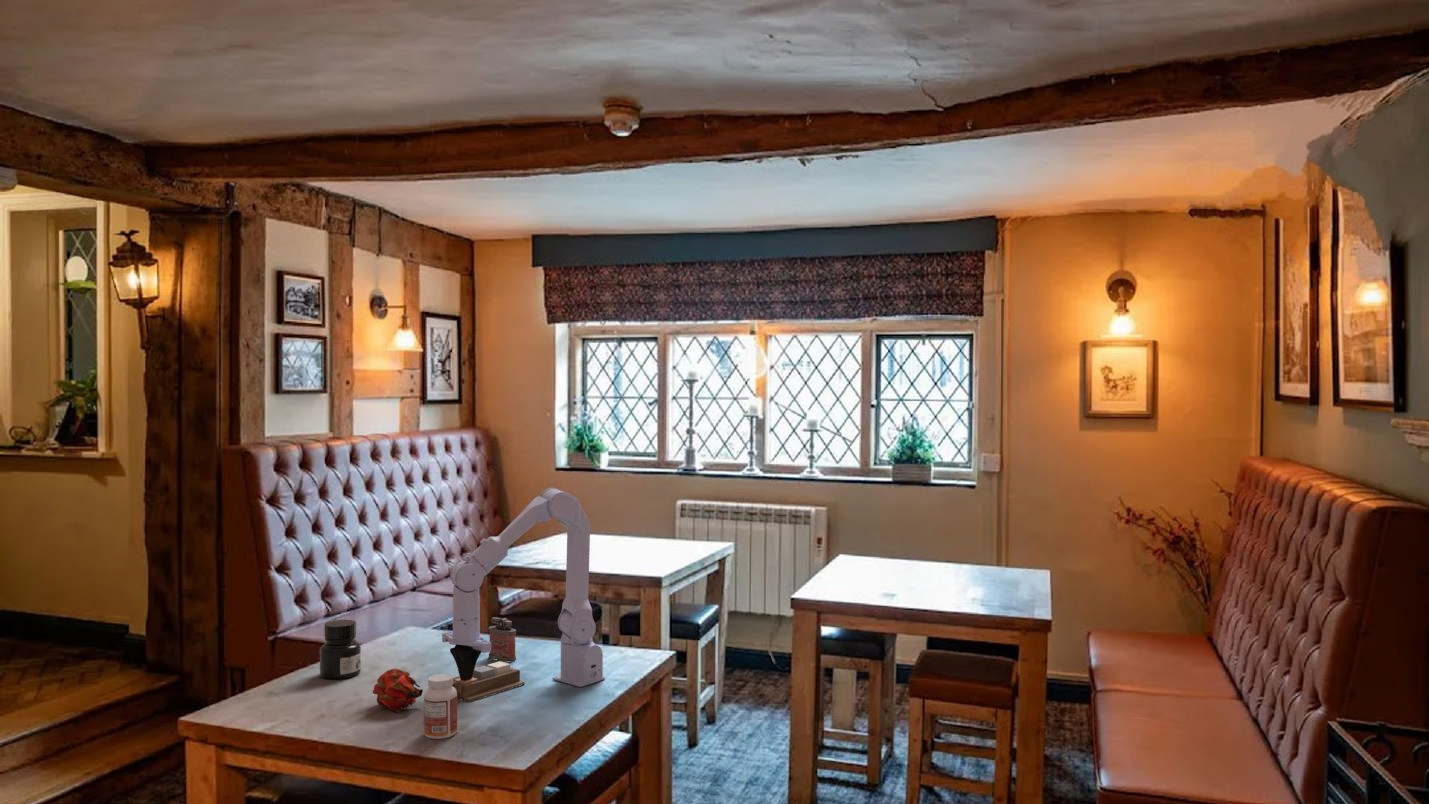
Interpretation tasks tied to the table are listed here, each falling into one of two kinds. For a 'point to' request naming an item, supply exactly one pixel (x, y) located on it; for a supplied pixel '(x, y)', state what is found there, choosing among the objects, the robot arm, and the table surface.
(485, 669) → the key slate
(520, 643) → the table surface
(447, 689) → the pill bottle
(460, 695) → the keypad board
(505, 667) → the key cream
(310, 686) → the table surface
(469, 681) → the key terracotta
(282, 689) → the table surface
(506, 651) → the lighter
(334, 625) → the ink bottle
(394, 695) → the dragon fruit
